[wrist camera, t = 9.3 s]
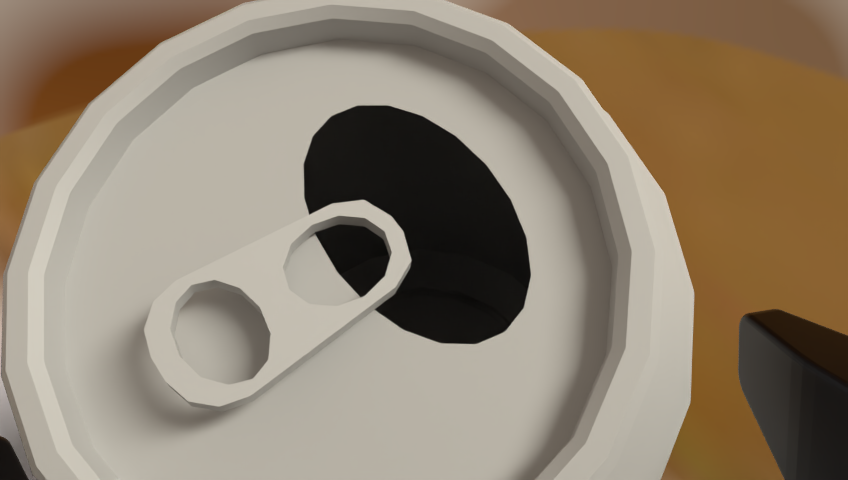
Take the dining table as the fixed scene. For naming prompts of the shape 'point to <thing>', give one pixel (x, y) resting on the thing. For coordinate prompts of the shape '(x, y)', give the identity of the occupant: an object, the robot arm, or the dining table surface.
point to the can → (347, 263)
